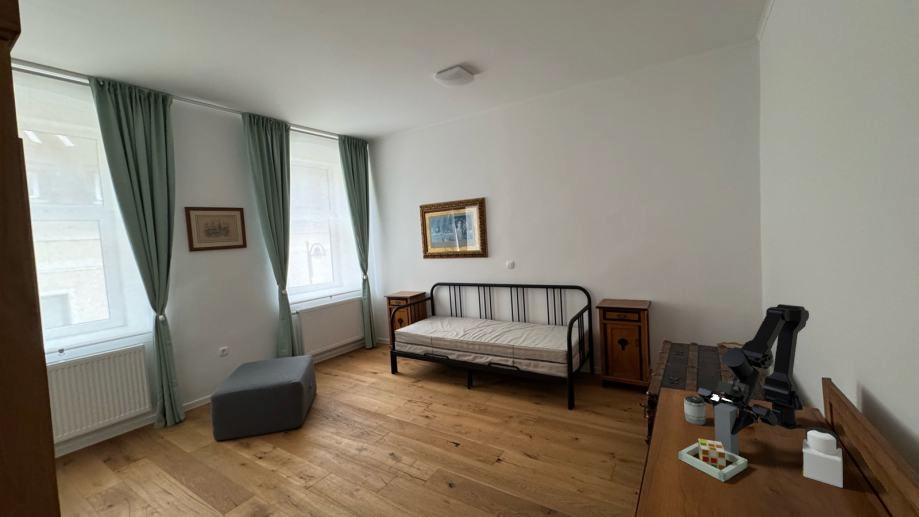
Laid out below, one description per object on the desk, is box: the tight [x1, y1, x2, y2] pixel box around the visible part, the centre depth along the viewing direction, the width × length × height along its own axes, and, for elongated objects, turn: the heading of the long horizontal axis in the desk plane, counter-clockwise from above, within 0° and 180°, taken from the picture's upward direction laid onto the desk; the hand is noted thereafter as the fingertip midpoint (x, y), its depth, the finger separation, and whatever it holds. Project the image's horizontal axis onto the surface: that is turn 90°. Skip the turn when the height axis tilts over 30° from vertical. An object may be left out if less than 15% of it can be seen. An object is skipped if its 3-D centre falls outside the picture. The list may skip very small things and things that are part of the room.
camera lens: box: [683, 395, 707, 426], centre depth 124 cm, size 6×6×8 cm
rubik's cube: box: [697, 438, 727, 470], centre depth 101 cm, size 6×6×6 cm
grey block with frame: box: [678, 403, 749, 483], centre depth 102 cm, size 15×12×14 cm
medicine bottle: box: [802, 426, 844, 489], centre depth 94 cm, size 7×7×12 cm
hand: (723, 430), depth 104 cm, fingers closed on grey block with frame, 4 cm apart
